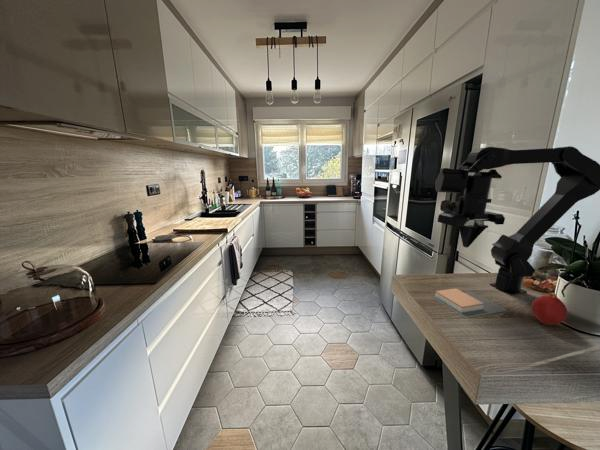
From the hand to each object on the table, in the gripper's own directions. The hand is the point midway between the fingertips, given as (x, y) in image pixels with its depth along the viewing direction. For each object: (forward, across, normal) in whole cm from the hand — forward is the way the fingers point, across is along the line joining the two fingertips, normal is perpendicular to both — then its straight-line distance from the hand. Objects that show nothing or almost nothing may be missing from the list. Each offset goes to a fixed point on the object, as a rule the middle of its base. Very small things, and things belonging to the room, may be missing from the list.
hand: (465, 247), depth 74 cm
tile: (+11, +7, +9) cm, 16 cm away
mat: (+12, +8, +10) cm, 18 cm away
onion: (+12, -2, +21) cm, 24 cm away
